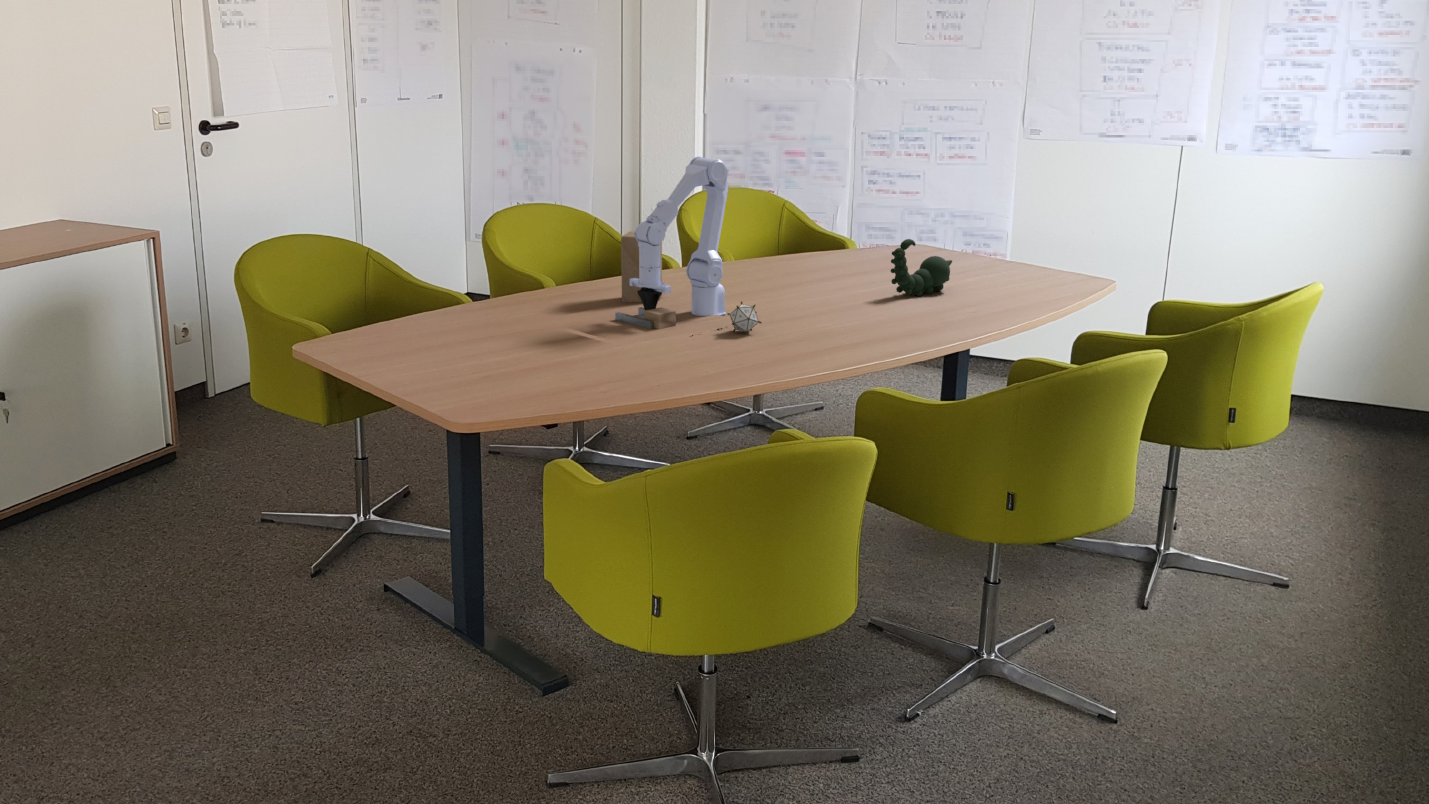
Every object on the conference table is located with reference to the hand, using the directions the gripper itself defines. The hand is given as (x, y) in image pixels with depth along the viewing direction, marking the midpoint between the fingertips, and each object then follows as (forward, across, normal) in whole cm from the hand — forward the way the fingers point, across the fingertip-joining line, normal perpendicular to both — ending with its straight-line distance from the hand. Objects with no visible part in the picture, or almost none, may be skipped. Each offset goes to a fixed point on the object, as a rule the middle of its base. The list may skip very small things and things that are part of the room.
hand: (650, 315), depth 330 cm
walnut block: (+2, +4, 0) cm, 5 cm away
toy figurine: (+3, +28, +89) cm, 93 cm away
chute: (+3, +2, 0) cm, 4 cm away
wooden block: (+3, -24, +19) cm, 31 cm away
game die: (+3, +23, +13) cm, 27 cm away
